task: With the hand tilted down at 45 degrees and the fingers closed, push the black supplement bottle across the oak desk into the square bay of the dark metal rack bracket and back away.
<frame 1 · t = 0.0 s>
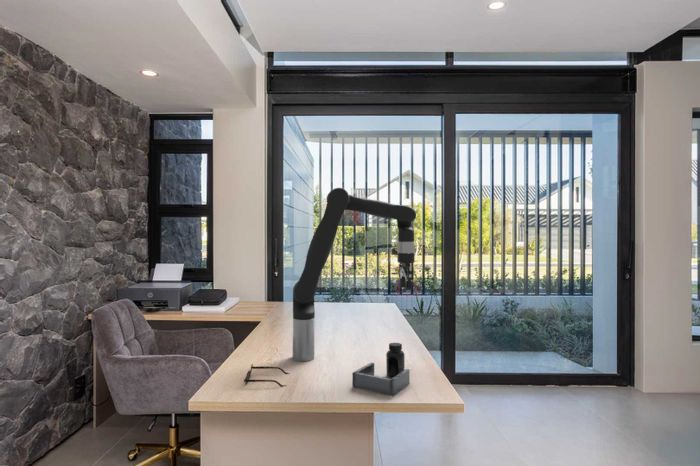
hand: (405, 288, 188), 29 cm above the table, tool pointing down, fingers open, 8 cm apart
supplement bottle: (395, 376, 160), on the table
rack bracket: (382, 384, 150), on the table
eyeglasses: (268, 381, 154), on the table
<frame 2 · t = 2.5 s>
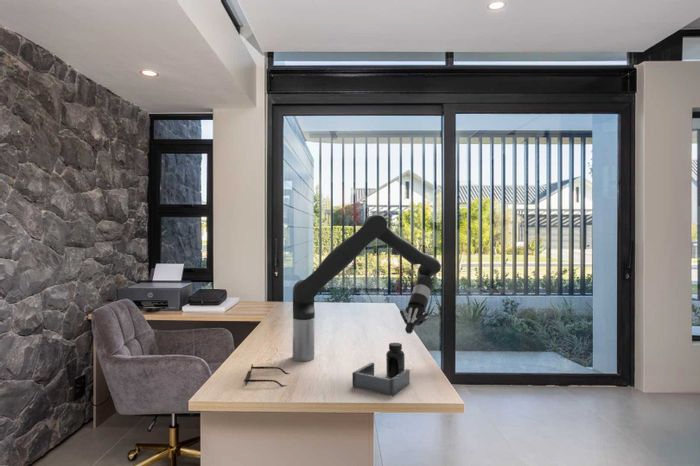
hand: (408, 332, 170), 14 cm above the table, tool tilted 45°, fingers closed
nothing on the table moved.
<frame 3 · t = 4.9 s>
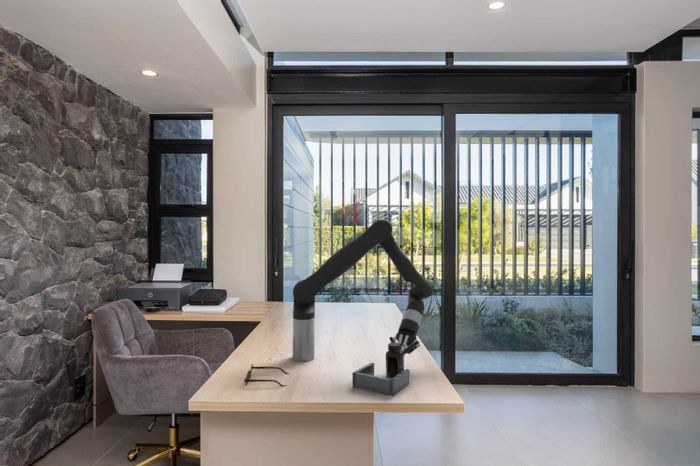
hand: (398, 361, 162), 5 cm above the table, tool tilted 45°, fingers closed
supplement bottle: (395, 376, 159), on the table, touching gripper
everything else where it was.
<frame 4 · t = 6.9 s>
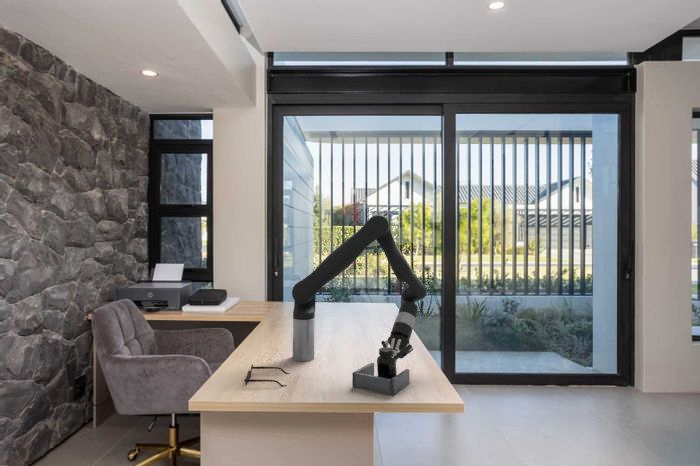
hand: (390, 366, 155), 5 cm above the table, tool tilted 45°, fingers closed
supplement bottle: (387, 382, 152), on the table, touching gripper
everything else where it was.
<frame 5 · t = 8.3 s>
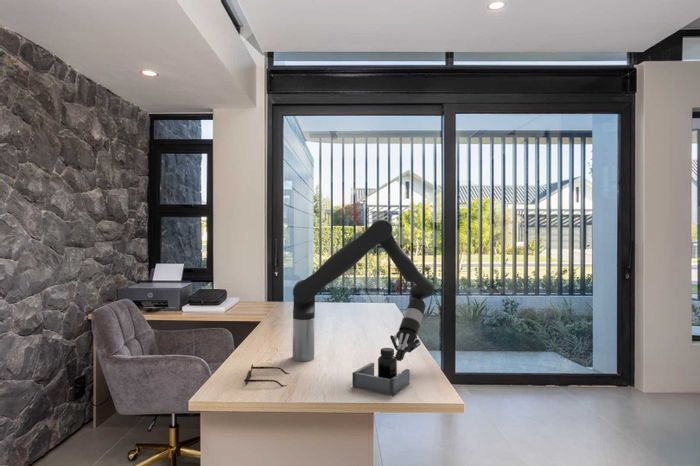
hand: (398, 359, 162), 5 cm above the table, tool tilted 45°, fingers closed
supplement bottle: (387, 383, 152), on the table
everything else where it was.
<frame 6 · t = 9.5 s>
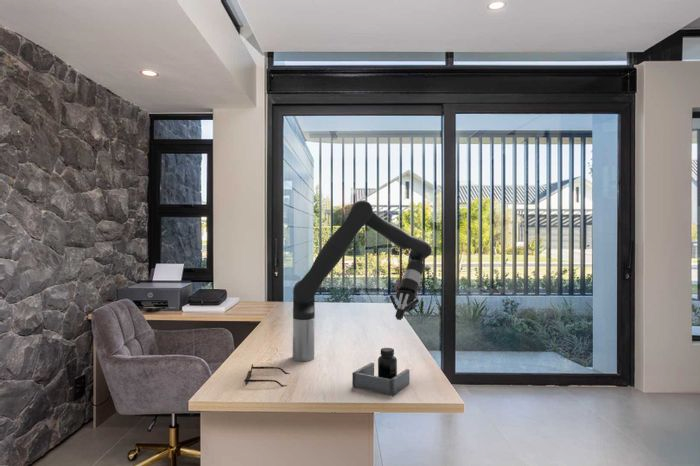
hand: (398, 318, 167), 20 cm above the table, tool tilted 40°, fingers closed
nothing on the table moved.
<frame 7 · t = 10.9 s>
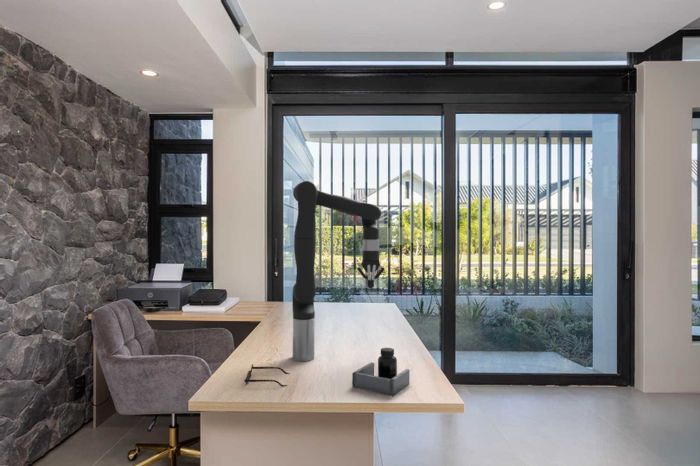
hand: (370, 288, 191), 29 cm above the table, tool pointing down, fingers closed
nothing on the table moved.
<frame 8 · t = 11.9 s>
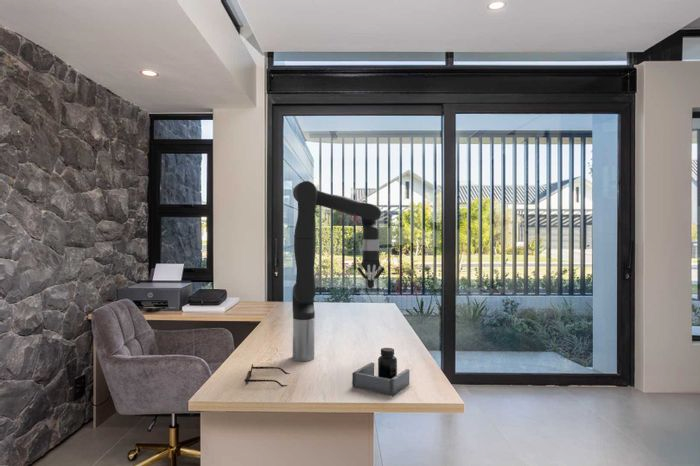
hand: (370, 288, 191), 29 cm above the table, tool pointing down, fingers closed
nothing on the table moved.
at the end: supplement bottle 3.0 cm from the rack bracket (horizontally); supplement bottle tilted 0°; supplement bottle moved 8.1 cm from its start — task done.
